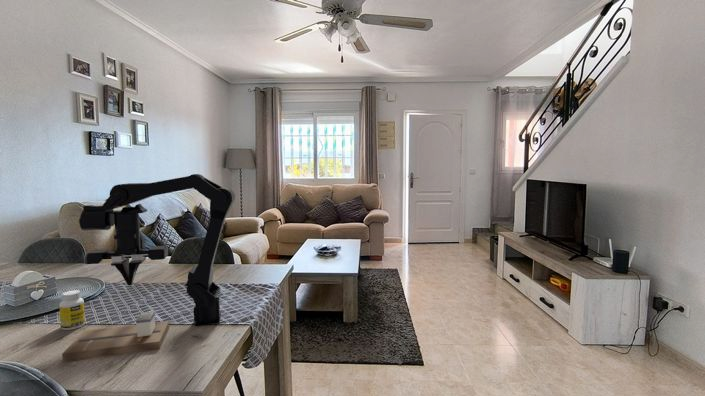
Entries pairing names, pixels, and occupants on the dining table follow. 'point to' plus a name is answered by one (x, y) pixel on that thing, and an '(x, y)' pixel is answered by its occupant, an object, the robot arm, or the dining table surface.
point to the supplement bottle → (71, 310)
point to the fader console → (114, 342)
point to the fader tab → (145, 324)
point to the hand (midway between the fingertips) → (130, 284)
